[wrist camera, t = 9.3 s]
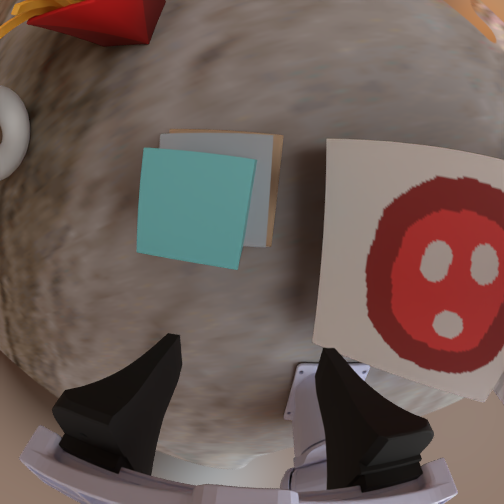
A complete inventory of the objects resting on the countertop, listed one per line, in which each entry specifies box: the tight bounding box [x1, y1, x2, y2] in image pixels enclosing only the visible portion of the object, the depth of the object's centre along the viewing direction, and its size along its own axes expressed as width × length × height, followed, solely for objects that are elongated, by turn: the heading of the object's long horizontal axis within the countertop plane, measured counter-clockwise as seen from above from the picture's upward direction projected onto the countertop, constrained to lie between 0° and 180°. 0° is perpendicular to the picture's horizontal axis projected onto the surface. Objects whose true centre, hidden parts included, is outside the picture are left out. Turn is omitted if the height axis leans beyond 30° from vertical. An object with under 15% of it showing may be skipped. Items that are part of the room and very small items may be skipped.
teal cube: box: [137, 148, 257, 270], centre depth 14 cm, size 5×5×5 cm
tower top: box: [160, 133, 273, 248], centre depth 18 cm, size 7×7×2 cm
